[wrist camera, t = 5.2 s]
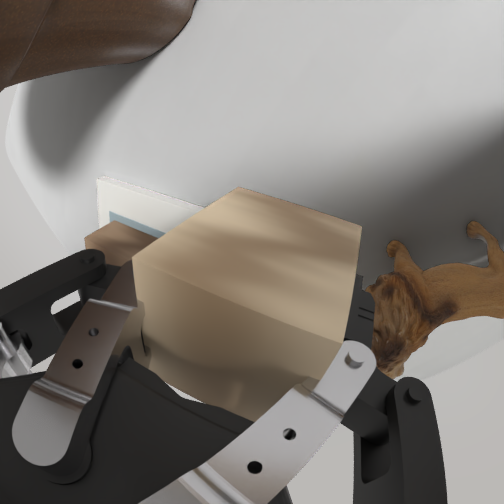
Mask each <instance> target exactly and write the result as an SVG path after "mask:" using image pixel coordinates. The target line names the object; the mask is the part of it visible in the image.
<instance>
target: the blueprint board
mask: <svg viewBox="0 0 504 504" xmlns="http://www.w3.org/2000/svg"><path fill="white" fill-rule="evenodd" d="M97 202H98V218H99V229H100V228H102V227H103V226H105V225H107V224H109V223H110V222H112V221H114V220H115V221H118V222H120V223H123V224H125V225H127V226H130V227H132V228H135V229H137V230H139V231H142V232H144V233H147V234H149V235H152V236H154V237H157V238H160V237H161V236H163V235H164V234H166V233H167V232H169V231H170V230H172V229H173V228H175V227H176V226H178V225H179V224H181V223H182V222H184V221H185V220H187V219H188V218H190V217H191V216H193V215H195V214H196V213H198V212H199V211H201V210H202V209H204V207H201V206H198V205H195V204H192V203H189V202H186V201H183V200H179V199H176V198H173V197H170V196H167V195H164V194H161V193H158V192H155V191H151V190H148V189H145V188H142V187H139V186H135V185H132V184H129V183H126V182H122V181H119V180H116V179H113V178H109V177H106V176H103V177H100V178H98V179H97Z"/></svg>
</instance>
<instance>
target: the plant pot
mask: <svg viewBox="0 0 504 504" xmlns="http://www.w3.org/2000/svg"><path fill="white" fill-rule="evenodd" d="M194 3H195V0H0V92H1V91H2V90H3V89H4V88H6V87H9V86H12V85H15V84H18V83H21V82H25V81H28V80H32V79H36V78H40V77H43V76H48V75H52V74H56V73H61V72H66V71H71V70H77V69H83V68H89V67H96V66H104V65H111V64H126V63H132V62H136V61H139V60H142V59H144V58H146V57H148V56H150V55H152V54H154V53H155V52H157V51H158V50H160V49H161V48H162V47H164V46H165V45H166V44H167V43H169V42H170V41H171V40H172V39H173V38H174V37H175V36H176V35H177V34H178V33H179V32H180V30H181V29H182V28H183V27H184V26H185V24H186V23H187V21H188V20H189V19H190V17H191V16H192V10H193V5H194Z"/></svg>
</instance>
